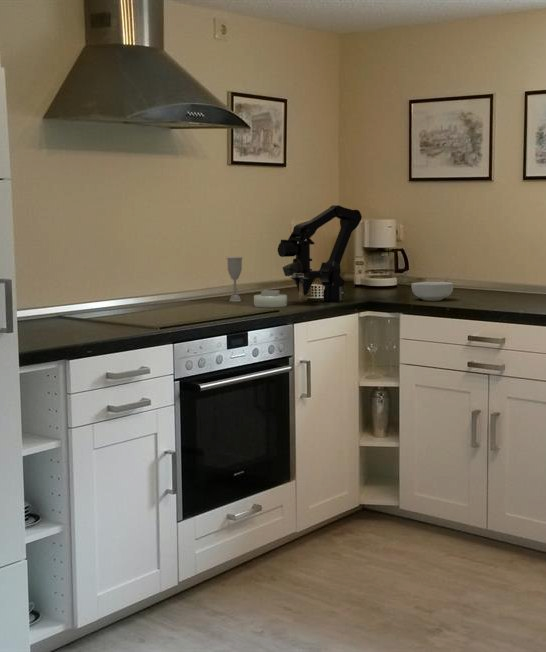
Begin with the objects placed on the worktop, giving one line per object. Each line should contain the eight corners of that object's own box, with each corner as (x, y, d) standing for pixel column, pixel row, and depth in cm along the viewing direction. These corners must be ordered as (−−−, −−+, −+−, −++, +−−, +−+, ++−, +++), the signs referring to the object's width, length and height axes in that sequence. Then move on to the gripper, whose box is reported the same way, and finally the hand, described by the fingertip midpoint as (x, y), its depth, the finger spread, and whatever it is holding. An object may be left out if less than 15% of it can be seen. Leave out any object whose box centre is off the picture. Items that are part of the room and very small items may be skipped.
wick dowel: (307, 299, 386) (307, 280, 385) (305, 300, 383) (305, 281, 382) (300, 299, 387) (300, 280, 386) (298, 299, 384) (298, 281, 383)
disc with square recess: (291, 304, 382) (291, 289, 381) (280, 307, 370) (280, 292, 369) (260, 303, 386) (260, 289, 385) (249, 306, 374) (249, 292, 373)
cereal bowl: (457, 298, 398) (457, 281, 397) (447, 302, 383) (447, 284, 382) (417, 297, 405) (418, 280, 405) (406, 301, 390) (406, 283, 390)
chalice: (241, 301, 395) (240, 257, 393) (225, 301, 396) (224, 257, 394) (245, 300, 402) (244, 257, 400) (229, 299, 403) (228, 257, 401)
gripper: (273, 255, 386) (273, 294, 388) (298, 257, 370) (298, 298, 372) (297, 254, 392) (297, 292, 394) (322, 256, 376) (322, 296, 378)
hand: (303, 295), depth 384 cm, fingers closed on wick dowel, 3 cm apart
